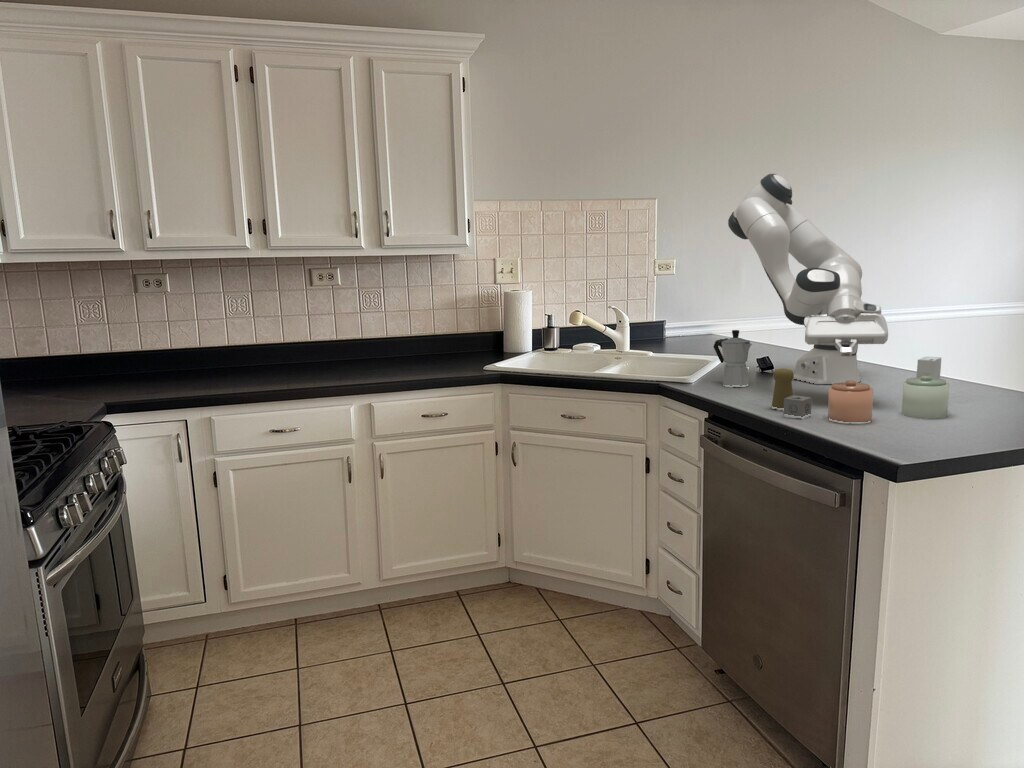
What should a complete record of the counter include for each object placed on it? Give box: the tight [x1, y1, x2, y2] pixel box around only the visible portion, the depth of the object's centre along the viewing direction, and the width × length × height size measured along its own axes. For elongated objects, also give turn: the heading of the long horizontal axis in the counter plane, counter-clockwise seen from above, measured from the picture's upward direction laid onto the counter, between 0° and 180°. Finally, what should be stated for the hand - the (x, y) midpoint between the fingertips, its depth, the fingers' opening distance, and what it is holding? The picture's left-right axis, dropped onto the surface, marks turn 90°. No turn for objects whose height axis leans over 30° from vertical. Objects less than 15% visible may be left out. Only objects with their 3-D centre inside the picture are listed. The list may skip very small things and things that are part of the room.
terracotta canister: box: [827, 381, 874, 422], centre depth 180 cm, size 10×10×10 cm
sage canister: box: [901, 376, 950, 420], centre depth 182 cm, size 10×10×10 cm
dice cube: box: [783, 394, 812, 417], centre depth 186 cm, size 5×5×5 cm
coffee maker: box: [713, 329, 753, 386], centre depth 232 cm, size 15×9×18 cm, turn 34°
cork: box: [771, 368, 794, 408], centre depth 196 cm, size 6×6×11 cm
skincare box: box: [915, 356, 942, 379], centre depth 195 cm, size 6×4×12 cm
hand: (846, 354), depth 190 cm, fingers closed
